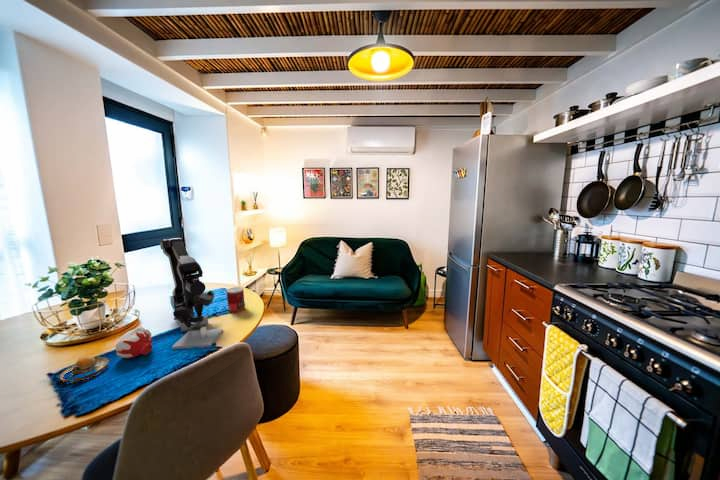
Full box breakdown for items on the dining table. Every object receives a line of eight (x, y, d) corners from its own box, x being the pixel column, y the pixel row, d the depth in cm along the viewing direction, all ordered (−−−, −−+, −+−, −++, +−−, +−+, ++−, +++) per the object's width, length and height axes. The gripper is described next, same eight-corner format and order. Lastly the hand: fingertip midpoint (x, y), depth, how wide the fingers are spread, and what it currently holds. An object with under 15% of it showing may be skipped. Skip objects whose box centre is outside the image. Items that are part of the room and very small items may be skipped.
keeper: (172, 349, 100) (170, 337, 99) (189, 332, 111) (187, 322, 110) (210, 346, 101) (209, 335, 100) (223, 331, 113) (222, 320, 112)
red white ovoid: (140, 340, 104) (166, 352, 100) (105, 357, 94) (133, 370, 89) (139, 320, 102) (165, 331, 98) (103, 334, 92) (131, 347, 87)
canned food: (240, 312, 130) (239, 292, 128) (225, 312, 130) (223, 292, 128) (247, 306, 138) (246, 287, 136) (232, 306, 138) (231, 286, 136)
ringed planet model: (107, 357, 95) (104, 338, 94) (113, 371, 87) (109, 351, 86) (58, 374, 86) (53, 354, 84) (59, 391, 78) (54, 369, 77)
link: (181, 331, 112) (180, 324, 112) (190, 323, 119) (189, 316, 119) (200, 330, 113) (199, 323, 113) (208, 322, 120) (207, 315, 119)
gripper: (199, 296, 105) (203, 332, 107) (219, 281, 123) (222, 312, 126) (170, 297, 104) (174, 333, 106) (194, 282, 122) (198, 313, 125)
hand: (194, 322), depth 116 cm, fingers open, 9 cm apart
